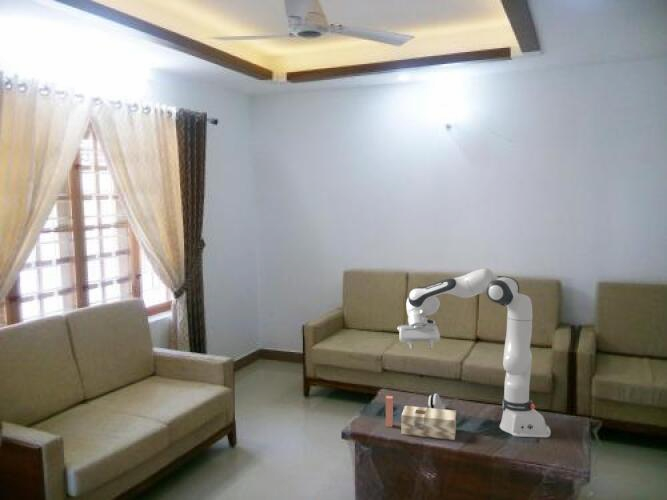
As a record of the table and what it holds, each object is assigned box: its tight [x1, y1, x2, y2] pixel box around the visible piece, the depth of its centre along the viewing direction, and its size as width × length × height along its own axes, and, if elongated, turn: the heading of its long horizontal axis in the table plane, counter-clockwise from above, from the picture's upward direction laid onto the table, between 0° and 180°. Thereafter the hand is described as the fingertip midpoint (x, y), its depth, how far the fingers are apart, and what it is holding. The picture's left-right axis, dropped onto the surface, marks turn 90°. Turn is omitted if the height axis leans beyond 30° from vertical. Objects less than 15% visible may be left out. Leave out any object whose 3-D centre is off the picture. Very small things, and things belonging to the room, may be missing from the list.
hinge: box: [427, 393, 447, 410], centre depth 283 cm, size 17×5×10 cm, turn 164°
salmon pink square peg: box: [385, 395, 394, 428], centre depth 266 cm, size 3×3×14 cm
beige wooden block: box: [400, 405, 457, 441], centre depth 259 cm, size 24×12×9 cm, turn 75°
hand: (421, 348), depth 275 cm, fingers open, 8 cm apart
